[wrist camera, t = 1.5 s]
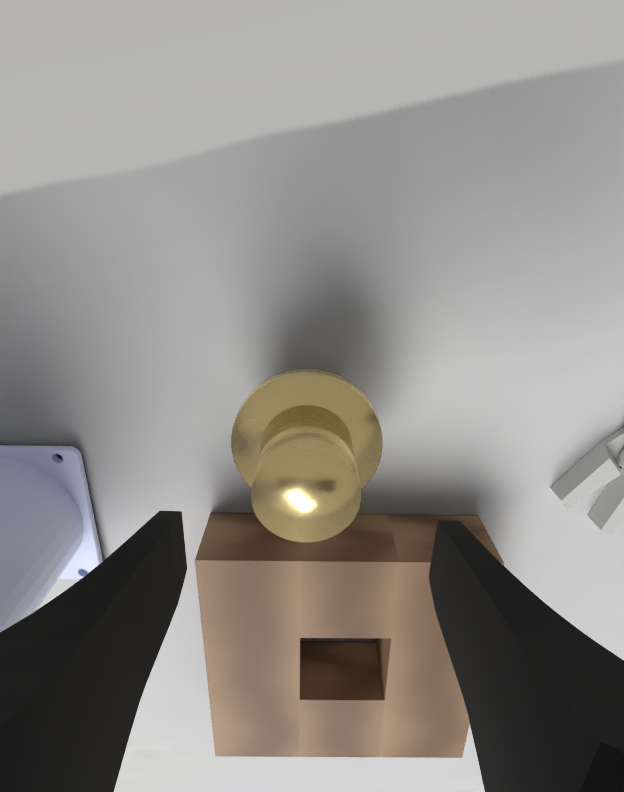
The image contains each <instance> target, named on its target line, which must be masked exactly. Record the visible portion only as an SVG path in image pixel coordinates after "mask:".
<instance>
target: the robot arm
mask: <svg viewBox="0 0 624 792" xmlns="http://www.w3.org/2000/svg"><path fill="white" fill-rule="evenodd" d="M56 454H59V455H61V456H62V458H63V459H59V458H58V457H57V455H56ZM83 569H85V570H87V571H84V570H83ZM186 571H187V563H186V553H185V543H184V532H183V522H182V512H179V511H159V512H158V513H157V514H156V515H155V516H154V517H152V518H151V519H150V520H149V521H148V522H147V523H146V524H145V525H143V526H142V527H141V528H140V529H139V530H138V531H137V532H136V533H135V534H134V535H133V536H131V537H130V538H129V539H128V540H127V541H126V542H125V543H124V544H123V545H121V546H120V547H119V548H118V549H117V550H116V551H114V552H113V553H112V554H111V555H110V556H109V557H108V558H106V559H105V560H104V561H103V560H102V555H101V550H100V545H99V540H98V535H97V530H96V525H95V520H94V515H93V510H92V505H91V500H90V495H89V490H88V485H87V480H86V475H85V470H84V465H83V460H82V455H81V453H80V451H79V450H78V449H77V448H75V447H72V446H12V445H0V792H114V788H115V785H116V781H117V777H118V774H119V770H120V767H121V763H122V760H123V756H124V753H125V749H126V745H127V742H128V739H129V735H130V732H131V729H132V725H133V722H134V718H135V715H136V712H137V708H138V705H139V702H140V699H141V696H142V693H143V691H144V688H145V685H146V682H147V680H148V677H149V675H150V672H151V670H152V667H153V665H154V662H155V660H156V657H157V655H158V652H159V650H160V647H161V645H162V642H163V640H164V637H165V635H166V632H167V630H168V627H169V625H170V622H171V620H172V617H173V615H174V612H175V610H176V607H177V604H178V601H179V597H180V594H181V590H182V587H183V583H184V579H185V575H186ZM58 579H80V580H79V581H78V582H77V583H75V584H74V585H73V586H71V587H70V588H69V589H67V590H66V591H64V592H63V593H62V594H60V595H59V596H57V597H56V598H54V599H53V600H51V601H50V602H48V603H47V604H46V605H44V606H43V607H41V608H40V609H38V607H39V606H40V604H41V603H42V601H43V600H44V598H45V597H46V595H47V594H48V593H49V591H50V590H51V588H52V587H53V585H54V584H55V582H56V581H57V580H58ZM429 582H430V587H431V592H432V598H433V602H434V607H435V612H436V615H437V618H438V622H439V625H440V628H441V631H442V634H443V637H444V640H445V643H446V646H447V649H448V652H449V655H450V659H451V662H452V665H453V668H454V671H455V674H456V677H457V680H458V683H459V686H460V689H461V692H462V695H463V699H464V702H465V706H466V709H467V713H468V717H469V721H470V726H471V730H472V734H473V739H474V743H475V747H476V752H477V756H478V761H479V765H480V770H481V775H482V780H483V784H484V789H485V792H624V661H623V660H622V659H620V658H619V657H617V656H616V655H614V654H613V653H611V652H610V651H608V650H607V649H605V648H604V647H603V646H601V645H600V644H598V643H597V642H595V641H594V640H592V639H591V638H589V637H588V636H587V635H585V634H584V633H582V632H581V631H580V630H578V629H577V628H576V627H574V626H573V625H572V624H571V623H569V622H568V621H567V620H565V619H564V618H563V617H561V616H560V615H559V614H558V613H556V612H555V611H554V610H552V609H551V608H550V607H549V606H548V605H546V604H545V603H544V602H543V601H542V600H541V599H539V598H538V597H537V596H536V595H535V594H534V593H533V592H531V591H530V590H529V589H528V588H527V587H526V586H525V585H523V584H522V583H521V582H520V581H519V580H518V579H517V578H516V577H515V576H514V575H513V574H512V573H511V572H510V571H509V570H507V569H506V568H505V567H504V566H503V565H502V564H501V563H500V562H499V561H498V560H497V559H496V558H495V557H494V556H493V555H492V554H491V553H490V552H489V551H488V550H487V549H486V547H485V546H484V545H483V544H482V543H481V542H480V541H479V540H478V539H477V538H476V537H475V536H474V535H473V534H472V533H471V532H470V531H469V530H468V529H467V528H466V527H465V526H464V525H463V524H462V523H461V522H460V521H453V520H438V522H437V528H436V534H435V540H434V547H433V553H432V559H431V565H430V571H429ZM37 609H38V610H37Z"/></svg>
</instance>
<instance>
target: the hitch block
mask: <svg viewBox="0 0 624 792" xmlns="http://www.w3.org/2000/svg"><path fill="white" fill-rule="evenodd" d="M438 520H453V521H460V522H461V523H462V524H463V525H464V526H465V527H466V528H467V529H468V530H469V531H470V532H471V533H472V534H473V535H474V536H475V537H476V538H477V539H478V540H479V541H480V542H481V543H482V544H483V545H484V546H485V547H486V549H487V550H488V551H489V552H490V553H491V554H492V555H493V556H494V557H495V558H496V559H497V560H498V561H499V562H500V563H501V564H502V565H503V566H504V562H503V560H502V558H501V557H500V555H499V553H498V551H497V549H496V547H495V546H494V544H493V542H492V540H491V538H490V537H489V535H488V533H487V531H486V529H485V527H484V526H483V524H482V522H481V520H480V518H479V517H478V515H378V514H357V515H356V517H355V518H354V520H353V521H352V522H351V524H350V525H349V526H348V527H347V528H345V529H344V530H343V531H342V532H340V533H339V534H337V535H335V536H333V537H331V538H328V539H326V540H322V541H317V542H295V541H290V540H287V539H284V538H282V537H279V536H277V535H275V534H274V533H272V532H271V531H269V530H268V529H267V528H266V527H265V526H264V525H263V524H262V523H261V522H260V521H259V519H258V518H257V516H256V514H255V513H211V514H210V517H209V520H208V523H207V526H206V529H205V532H204V535H203V538H202V541H201V544H200V547H199V550H198V553H197V556H196V559H195V565H196V575H197V584H198V594H199V603H200V613H201V622H202V632H203V641H204V651H205V661H206V670H207V680H208V689H209V699H210V708H211V718H212V727H213V737H214V747H215V756H266V757H446V758H462V755H463V751H464V746H465V742H466V737H467V732H468V728H469V723H470V721H469V717H468V713H467V709H466V706H465V702H464V699H463V695H462V692H461V689H460V686H459V683H458V680H457V677H456V674H455V671H454V668H453V665H452V662H451V659H450V655H449V652H448V649H447V646H446V643H445V640H444V637H443V634H442V631H441V628H440V625H439V622H438V618H437V615H436V612H435V607H434V602H433V598H432V592H431V587H430V582H429V571H430V565H431V559H432V553H433V547H434V540H435V534H436V528H437V522H438ZM301 638H376V642H301Z"/></svg>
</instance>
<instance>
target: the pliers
mask: <svg viewBox="0 0 624 792" xmlns="http://www.w3.org/2000/svg"><path fill="white" fill-rule="evenodd" d="M618 464H619V465H620V466H621V467H622V468H623V469H622V468H619V465H618ZM607 483H609V484H608V485H607V486H606V488H605V489H604V491H603V492H602V494H601V495H600V497H599V498H598V500H597V501H596V503H595V504H594V506H593V507H592V509H591V510H590V512H589V513H588V514H587V515H588V516H589V517H590V519H591V520H592V521H593V522H594V523H595V524H596V525H597V526H598V527H599V528H600V529H601V530H602V531H606V532H609V533H612V532H613V531H614V530H615V529H616V528H617V527H618V526H619V525H620V524H621V523H622V522H623V521H624V427H622V428H621V429H619V430H618V431H616V432H615V433H613V434H611V435H610V436H608V437H607V438H605V439H604V440H602V441H601V442H600V443H598V444H597V445H596V446H595V447H594V448H593V449H592V450H591V451H590V452H588V453H587V454H586V455H585V456H584V457H583V458H582V459H581V460H580V461H578V462H577V463H576V464H575V465H574V466H573V467H572V468H571V469H570V470H568V471H567V472H566V473H565V474H564V475H563V476H562V477H561V478H560V479H558V480H557V481H556V482H555V483H554V484H553V485H552V486H551V487H550V488H551V489H552V490H553V492H554V493H555V494H556V495H557V496H558V498H559V499H560V500H561V501H562V502H563V503H564V504H565V506H566V507H567V508H569V507H570V506H572V505H573V504H575V503H577V502H578V501H580V500H581V499H583V498H585V497H586V496H588V495H589V494H591V493H593V492H594V491H596V490H597V489H599V488H601V487H602V486H604V485H606V484H607Z"/></svg>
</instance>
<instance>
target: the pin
mask: <svg viewBox="0 0 624 792" xmlns="http://www.w3.org/2000/svg"><path fill="white" fill-rule="evenodd" d="M231 447H232V455H233V458H234V462H235V464H236V467H237V469H238V471H239V473H240V474H241V476H242V478H243V479H244V480H245V481H246V483H247V484H248V485H249V486H250V487H251V488H252V489H251V503H252V507H253V510H254V512H255V514H256V516H257V518H258V519H259V521H260V522H261V523H262V524H263V525H264V526H265V527H266V528H267V529H268V530H269V531H271V532H272V533H274V534H275V535H277V536H279V537H282V538H284V539H287V540H290V541H295V542H317V541H322V540H326V539H328V538H331V537H333V536H335V535H337V534H339V533H340V532H342V531H343V530H344V529H345V528H347V527H348V526H349V525H350V524H351V522H352V521H353V520H354V518H355V517H356V515H357V513H358V511H359V507H360V504H361V489H362V488H363V487H364V486H365V485H366V484H367V483H368V481H369V480H370V479H371V477H372V476H373V474H374V473H375V471H376V469H377V466H378V464H379V461H380V458H381V453H382V433H381V428H380V425H379V421H378V418H377V415H376V412H375V410H374V408H373V406H372V404H371V402H370V401H369V399H368V398H367V397H366V395H365V394H364V393H363V392H362V391H361V390H360V389H359V388H358V387H357V386H356V385H354V384H353V383H351V382H350V381H348V380H347V379H345V378H343V377H341V376H339V375H337V374H334V373H331V372H328V371H323V370H318V369H296V370H290V371H286V372H283V373H279V374H277V375H275V376H273V377H270V378H268V379H267V380H265V381H264V382H262V383H261V384H259V385H258V386H257V387H256V388H255V389H254V390H253V391H252V392H251V393H250V394H249V395H248V396H247V398H246V399H245V401H244V402H243V404H242V406H241V408H240V410H239V412H238V415H237V417H236V420H235V423H234V426H233V431H232V437H231Z"/></svg>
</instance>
